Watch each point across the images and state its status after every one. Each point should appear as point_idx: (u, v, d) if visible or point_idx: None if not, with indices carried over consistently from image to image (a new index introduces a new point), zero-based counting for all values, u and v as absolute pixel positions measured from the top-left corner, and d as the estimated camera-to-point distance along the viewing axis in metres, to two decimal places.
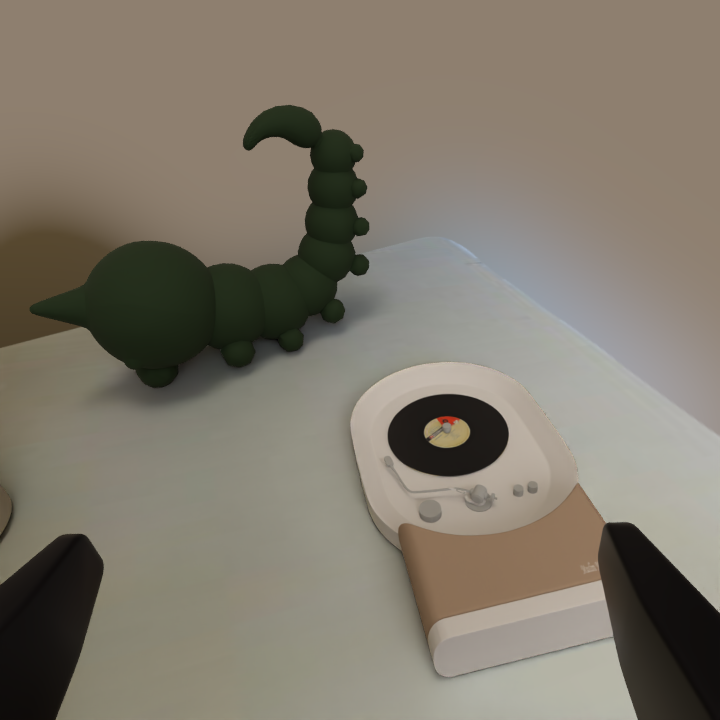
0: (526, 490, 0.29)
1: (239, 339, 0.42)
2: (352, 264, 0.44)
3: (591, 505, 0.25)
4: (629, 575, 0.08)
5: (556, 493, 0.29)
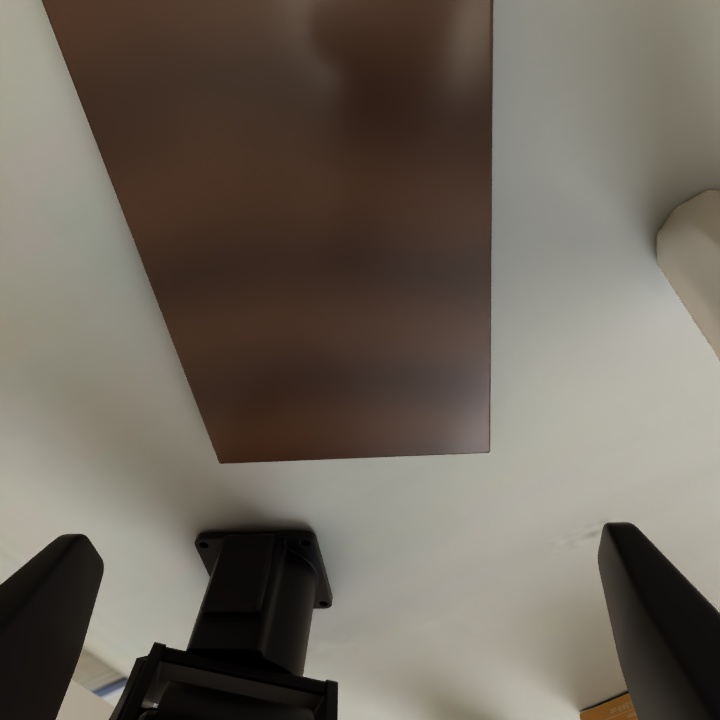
0: None
1: None
2: None
3: None
4: (629, 575, 0.08)
5: None
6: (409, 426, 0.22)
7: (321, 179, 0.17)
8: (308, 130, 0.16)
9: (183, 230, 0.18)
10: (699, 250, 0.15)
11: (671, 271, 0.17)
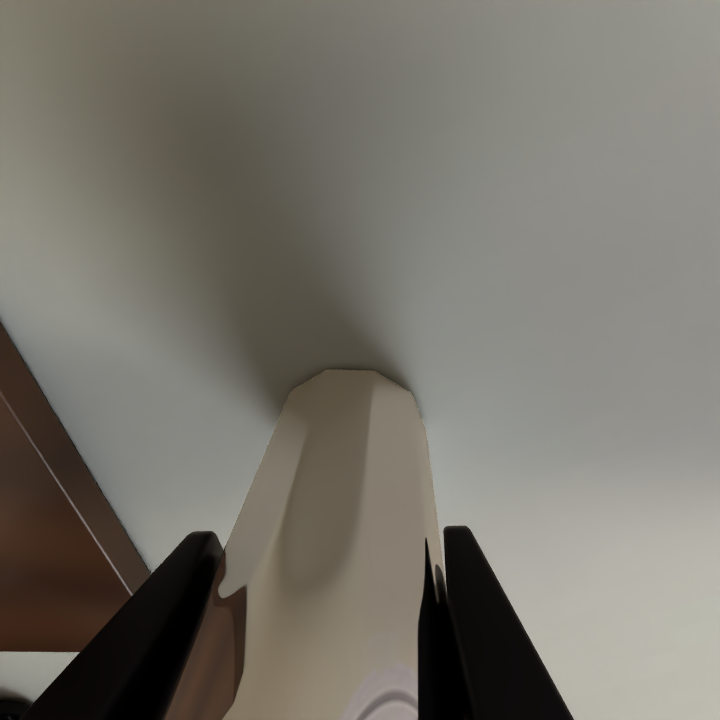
0: None
1: None
2: None
3: None
4: (449, 577, 0.08)
5: None
6: (53, 625, 0.17)
7: None
8: None
9: None
10: None
11: None
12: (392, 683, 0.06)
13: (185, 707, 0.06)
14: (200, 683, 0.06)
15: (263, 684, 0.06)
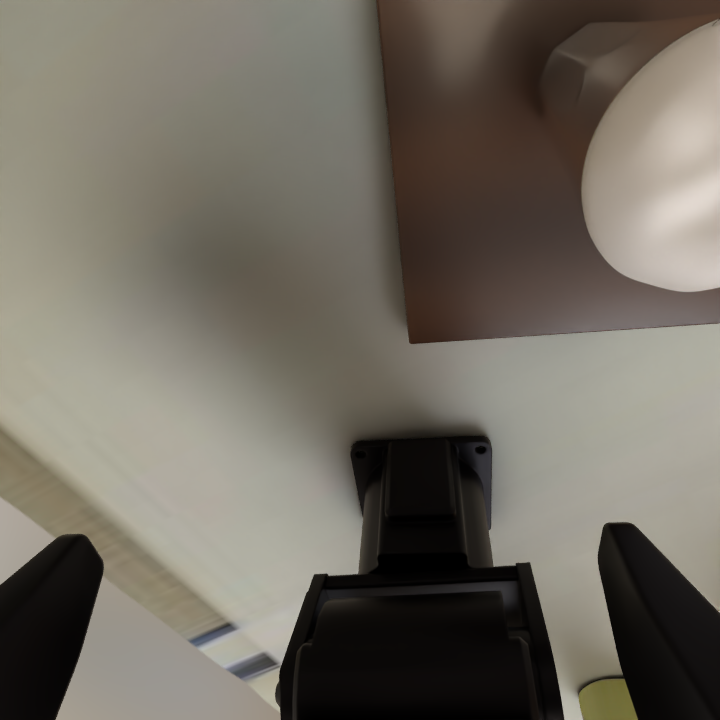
0: None
1: None
2: None
3: None
4: (629, 575, 0.08)
5: None
6: (654, 287, 0.19)
7: None
8: None
9: (447, 7, 0.15)
10: (563, 74, 0.13)
11: (546, 117, 0.15)
12: None
13: (656, 37, 0.09)
14: (656, 35, 0.09)
15: (712, 13, 0.09)
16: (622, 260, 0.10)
